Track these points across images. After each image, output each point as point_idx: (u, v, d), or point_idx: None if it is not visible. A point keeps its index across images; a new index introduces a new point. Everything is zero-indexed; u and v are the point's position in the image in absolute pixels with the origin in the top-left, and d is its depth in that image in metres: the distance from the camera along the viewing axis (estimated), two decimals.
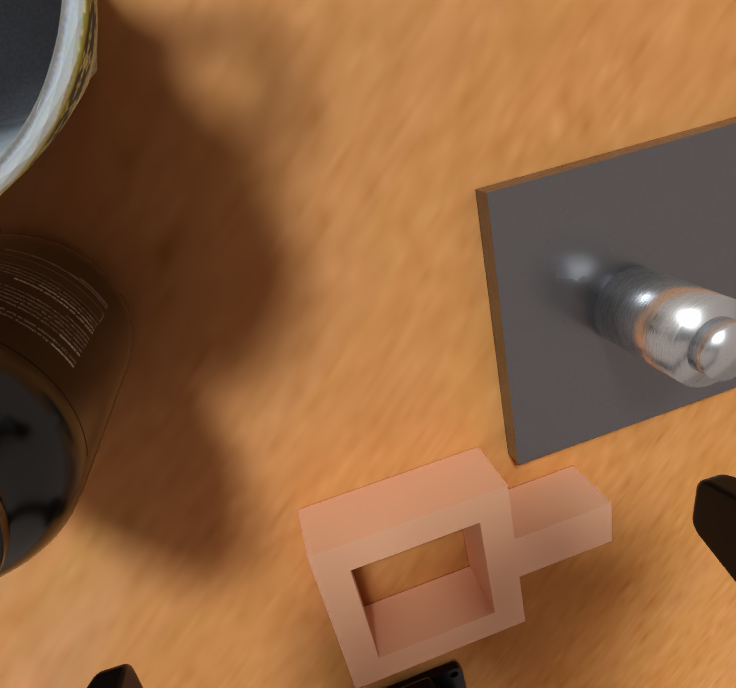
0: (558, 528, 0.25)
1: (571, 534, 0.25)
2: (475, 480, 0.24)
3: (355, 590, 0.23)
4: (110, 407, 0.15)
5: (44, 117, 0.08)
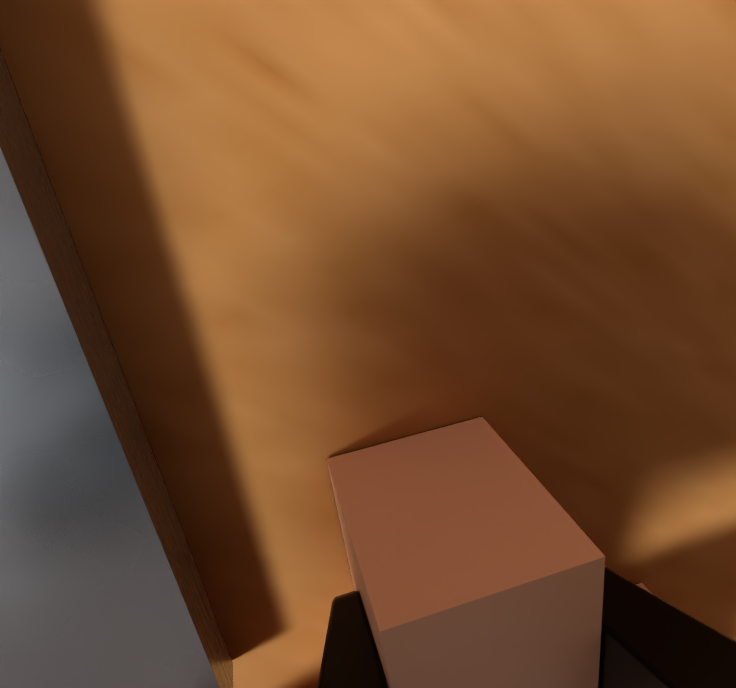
0: None
1: None
2: None
3: None
4: None
5: None
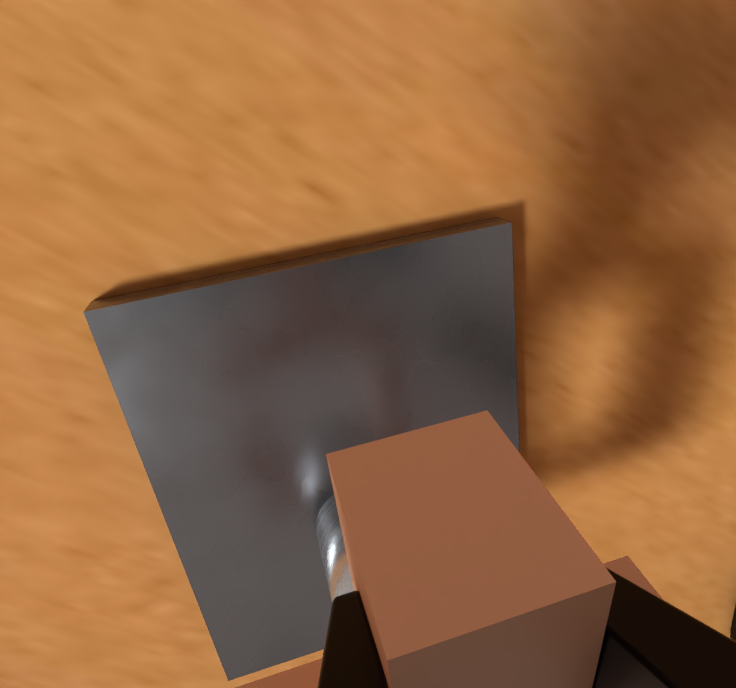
0: None
1: None
2: None
3: None
4: None
5: None
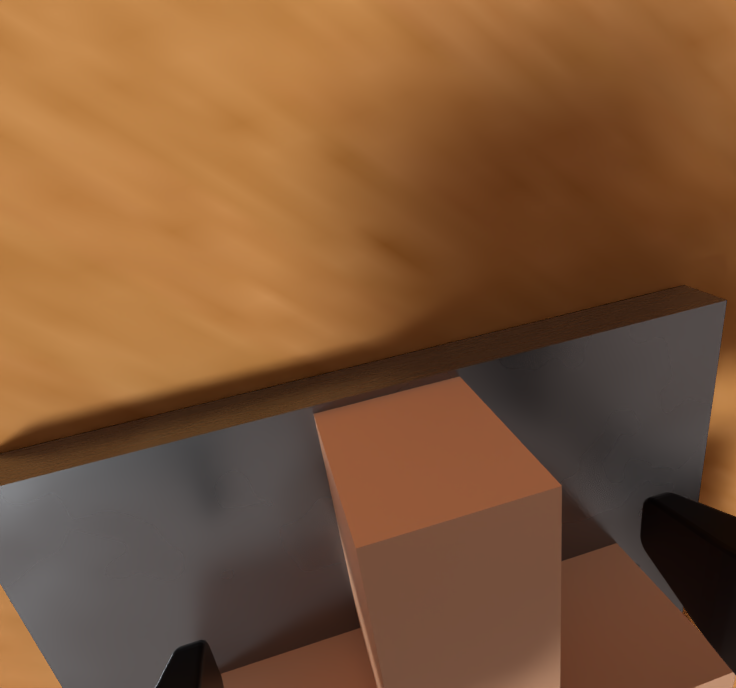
0: None
1: (458, 649, 0.07)
2: None
3: None
4: None
5: None
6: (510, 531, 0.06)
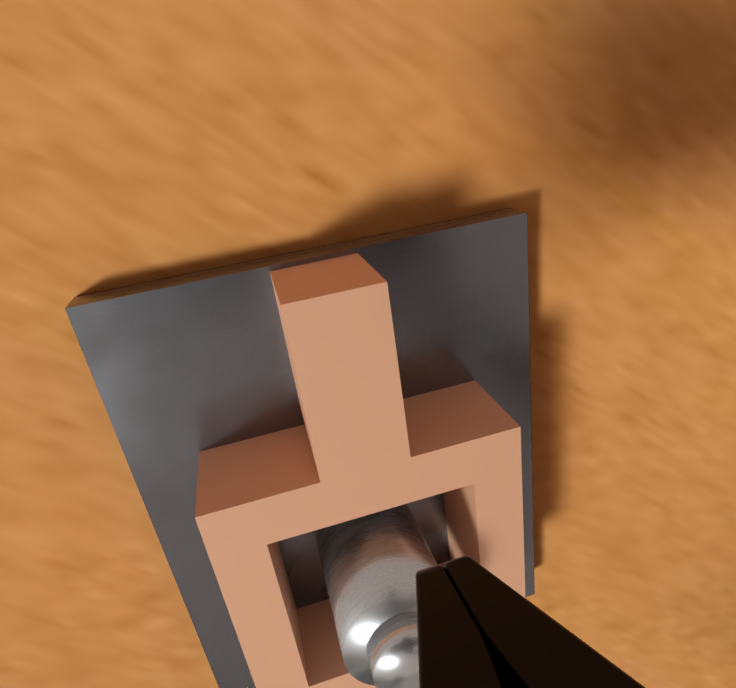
0: (319, 406, 0.13)
1: (340, 378, 0.13)
2: None
3: (346, 674, 0.17)
4: None
5: None
6: (361, 306, 0.12)
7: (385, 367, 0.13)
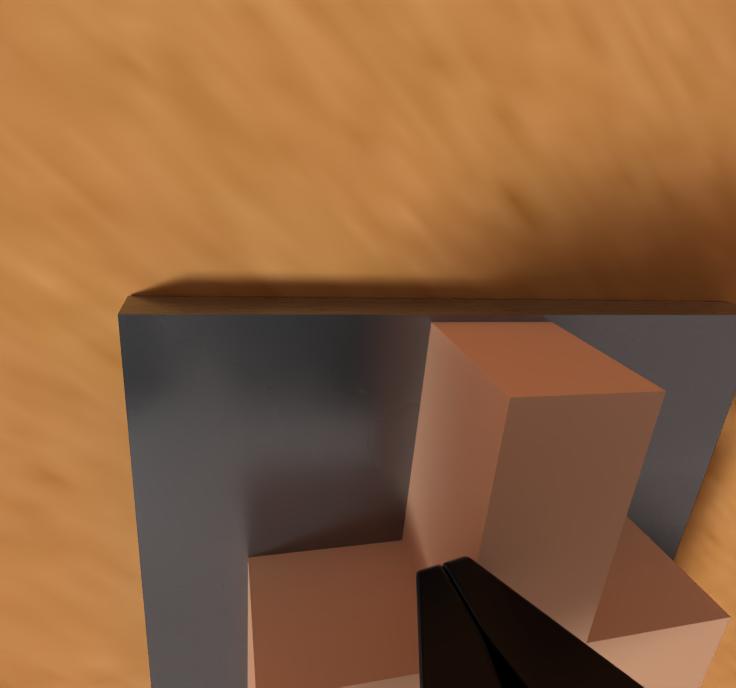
0: (499, 559, 0.08)
1: (545, 522, 0.08)
2: None
3: None
4: None
5: None
6: (618, 420, 0.08)
7: (609, 515, 0.08)
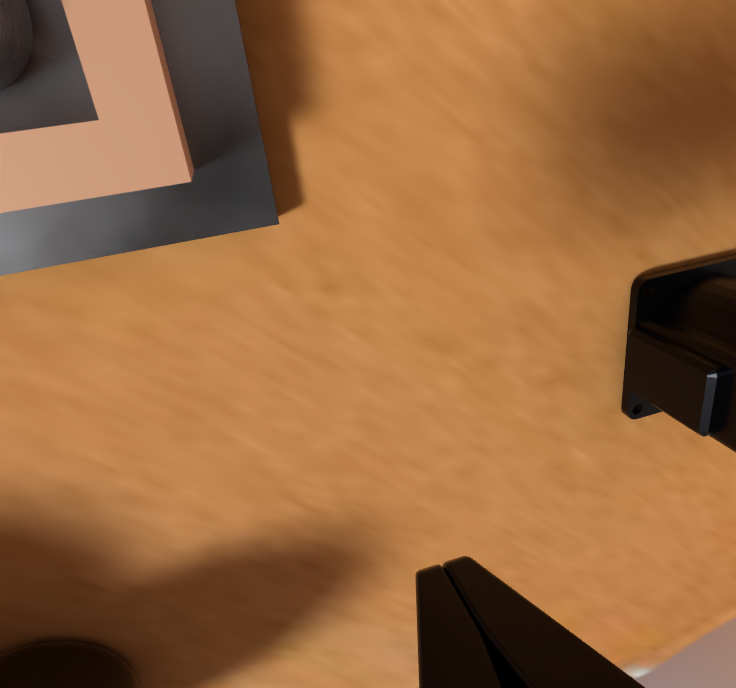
0: None
1: None
2: None
3: None
4: None
5: None
6: None
7: None
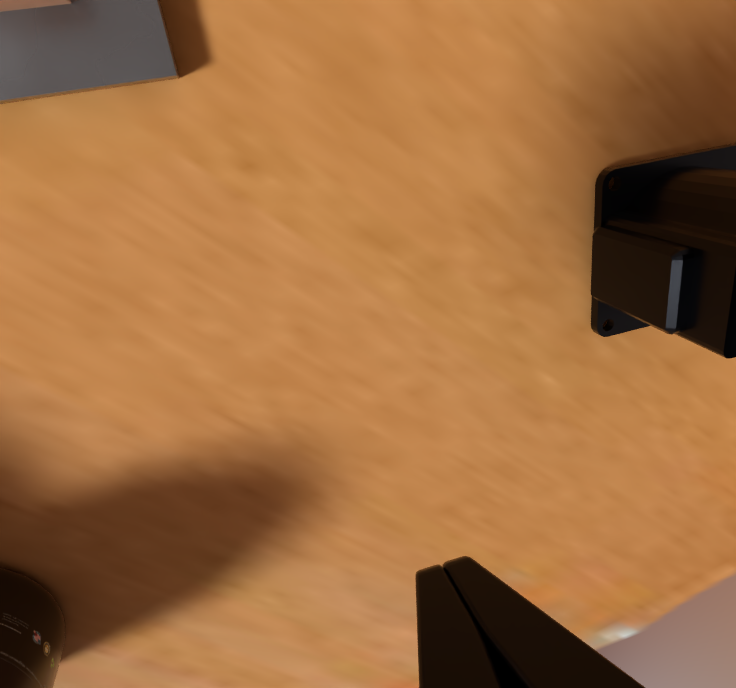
0: None
1: None
2: None
3: None
4: None
5: None
6: None
7: None
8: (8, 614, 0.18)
